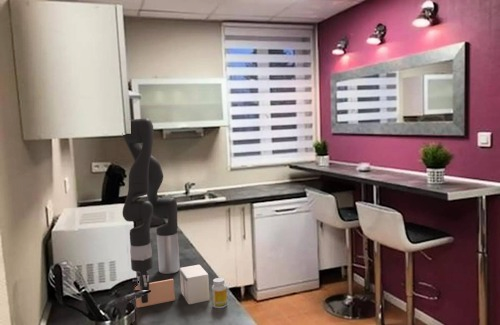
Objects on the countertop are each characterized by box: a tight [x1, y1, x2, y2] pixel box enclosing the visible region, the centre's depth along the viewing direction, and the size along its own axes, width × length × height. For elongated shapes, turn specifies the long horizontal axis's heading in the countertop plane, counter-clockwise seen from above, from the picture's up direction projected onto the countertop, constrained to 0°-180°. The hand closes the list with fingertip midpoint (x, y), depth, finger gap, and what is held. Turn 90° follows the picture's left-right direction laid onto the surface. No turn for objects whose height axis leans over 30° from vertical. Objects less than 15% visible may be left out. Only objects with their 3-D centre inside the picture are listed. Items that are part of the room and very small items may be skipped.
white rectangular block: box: [178, 264, 211, 305], centre depth 162 cm, size 12×8×10 cm
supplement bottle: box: [211, 277, 228, 309], centre depth 153 cm, size 5×5×10 cm
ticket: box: [134, 278, 176, 308], centre depth 156 cm, size 1×14×8 cm, turn 113°
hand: (144, 301), depth 155 cm, fingers closed
